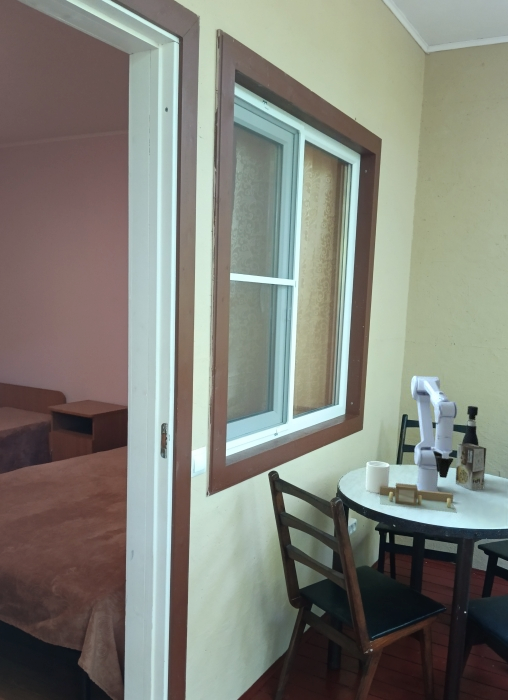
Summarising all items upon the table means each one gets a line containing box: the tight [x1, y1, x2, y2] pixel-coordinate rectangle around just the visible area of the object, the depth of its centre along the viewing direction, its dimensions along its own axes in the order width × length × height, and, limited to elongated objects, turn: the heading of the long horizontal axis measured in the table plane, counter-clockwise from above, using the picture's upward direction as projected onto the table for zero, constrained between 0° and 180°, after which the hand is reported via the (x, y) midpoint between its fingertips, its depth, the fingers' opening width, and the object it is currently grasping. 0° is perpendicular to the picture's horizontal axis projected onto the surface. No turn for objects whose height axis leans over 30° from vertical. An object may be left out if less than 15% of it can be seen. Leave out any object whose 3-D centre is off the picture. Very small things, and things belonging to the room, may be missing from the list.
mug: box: [364, 460, 390, 494], centre depth 209 cm, size 12×8×10 cm
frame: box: [395, 482, 418, 506], centre depth 194 cm, size 4×7×6 cm, turn 78°
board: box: [379, 486, 457, 514], centre depth 195 cm, size 12×25×4 cm, turn 78°
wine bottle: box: [461, 405, 480, 446], centre depth 228 cm, size 6×6×30 cm
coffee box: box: [455, 443, 487, 491], centre depth 219 cm, size 9×6×16 cm
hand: (441, 474), depth 196 cm, fingers open, 7 cm apart
